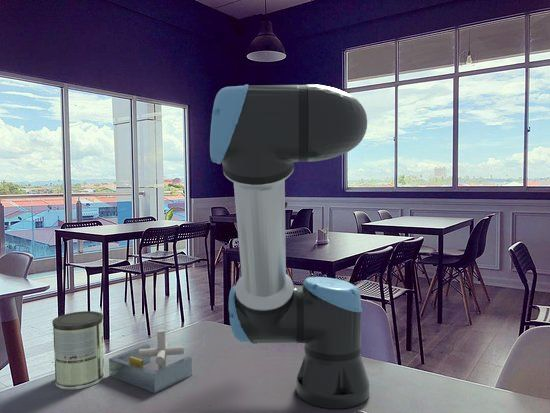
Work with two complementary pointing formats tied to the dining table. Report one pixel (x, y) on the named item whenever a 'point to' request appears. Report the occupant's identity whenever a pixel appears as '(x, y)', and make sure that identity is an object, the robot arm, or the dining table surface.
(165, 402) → the dining table surface
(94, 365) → the coffee can
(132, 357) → the jig
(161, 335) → the pipe connector
